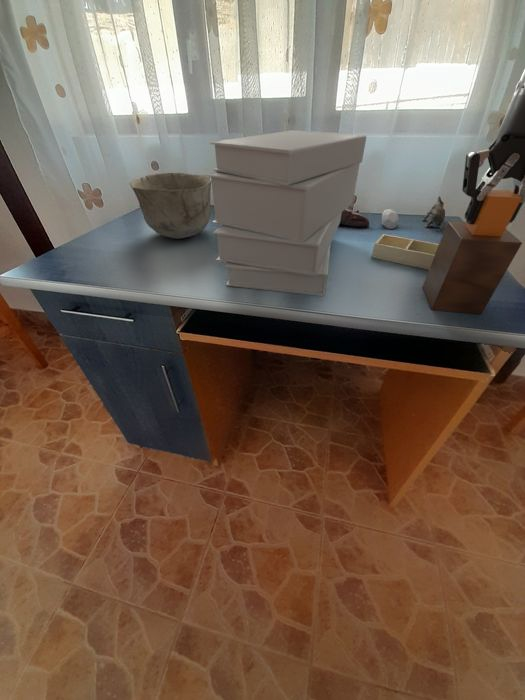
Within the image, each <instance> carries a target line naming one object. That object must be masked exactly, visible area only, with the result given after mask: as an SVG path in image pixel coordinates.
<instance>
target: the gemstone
mask: <svg viewBox="0 0 525 700" xmlns="http://www.w3.org/2000/svg"><path fill="white" fill-rule="evenodd" d="M399 219H400V217H399V215H398V213H397V212H396V211H395V210H394V209H393V208H387V209H385V210H384V211H383V212H382V213H381V225H383V226H384V227H385V228H387V229H390V230H393V229H395V228H396V227H397V226H398V225H399V221H400V220H399Z"/></svg>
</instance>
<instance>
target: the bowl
mask: <svg viewBox="0 0 525 700" xmlns="http://www.w3.org/2000/svg"><path fill="white" fill-rule="evenodd" d="M207 175H208V174H197V173H196V174H195V173H188V172H187V173H186V172H163V173H154V174H146V175H145V177H140V178H137V179H136V178H135V179H132V180H131V181H129V186H130V188H131V189H132V191H133V193H134V195H135V197H136V199H137V201H138V204H139V206H138V207H139V208H140V210H141V213H142V216H143V219H144V222H145V223H146V224H147V226H148V227H149V228H150V229H152V230H153V231H154V232H155V233H156V234H158V235H160V236H164V237H166V238H170V239H174V240H175V239H177V240H181V239H185V238H190V237H193V236H196V235H198V234H199V233H201V232H203V231H204V230H205V229H206V227H207V226H208V224H209V221H210V219H211V192H212V191H211V189H212V181H211V177H206V176H207Z"/></svg>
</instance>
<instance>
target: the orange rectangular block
mask: <svg viewBox="0 0 525 700" xmlns="http://www.w3.org/2000/svg"><path fill="white" fill-rule="evenodd" d="M520 200H521V197H519V196H518V195H516V194H514V193H513V191H511V190H509V189H508V190H505V189H502V190H501V189H492V190H491V191H490V192H489V194H488V195H487V196H486V197H485V199H484V200H483V201H484V203H483V205H482V208H481V210H480V212H479V214H478V217H477V219H476V221H475V223H474V224H468V223H467V222H466V221H465V222H466V224H465V227H466V228H467V229H468V230H469V231H470V232H471V234H472V235H483V236H500V237H501V236H502V235H503V233H504V231H505V229H507V227H508V226H509V224H510V223H509V221H510V219H511V218H512V216H513V214H514V212H515V210H516V208H517V206H518V204H519V202H520ZM508 223H509V224H508ZM507 225H508V226H507Z"/></svg>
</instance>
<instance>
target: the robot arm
mask: <svg viewBox="0 0 525 700" xmlns="http://www.w3.org/2000/svg"><path fill="white" fill-rule="evenodd" d="M514 90H515V91H514V93H513V95H512V98H511V101H510V103H509V105H508V107H507V109H506V113H505V115H504V117H503V120H502V122H501V125H500V127H499V130H498V132H497V135H496V138H495V139H494V141H492V143H491V144H490V146H489V147H488V148H486V149H482V150H478V151H473V150H471V151H468V152H467V153H466V155H465V161H464V171H463V178H462V179H463V180H462V190H461V191H462V192H463V193H464V194H465V195H467V197H470V201H469V204H468V206H467V208H466V211H465V213H464V219H465V222H467V223H468V224H474V223H475V221H476V219H477V217H478V214H479V212H480V210H481V208H482V205H483V203H484V201H483V200H484V199H485V197H486V196H487V195H488V194H489V192H490V191H491V190H494V188H496V187H498V185H499V183H500V182H501V181H502V180H506V179H507V180H508V179H513V189H512V192H513V193H514V194H516V195H518V196H519V197H521V200H520V202H519V204H518V206H517V208H516V210H515V212H514V214H513V216H512V218H511V219H510V221H509V223H508V225H507V227H508V226H509V224H511V223H513V222H514V221H515V219H516V218H517V215H518V214H519V212H520V210H521V208H522V207H523V205H524V203H525V69H524V70H523V72H522V74H521V76H520V79H519V81H518V82H517V84H516V86H515V89H514ZM486 159H487V162H488V165H489V168H488V169H487V170H486V171H485V173H484V174H483V176H482V177H481V180H480V182H479V183H478V177H479V176H478V175H479V169H480V168H482V166H483V165H484V163H485V161H486ZM477 183H478V184H477Z"/></svg>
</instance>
